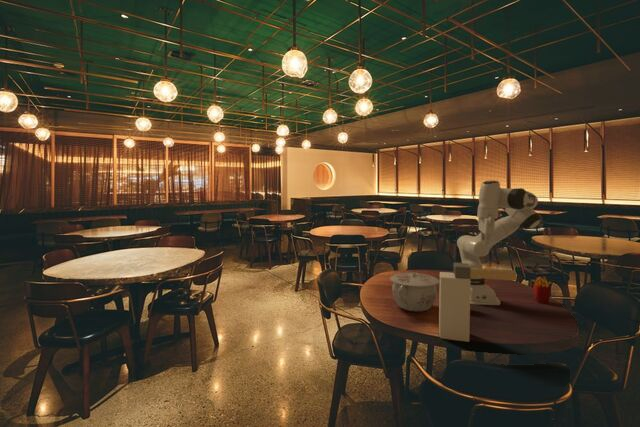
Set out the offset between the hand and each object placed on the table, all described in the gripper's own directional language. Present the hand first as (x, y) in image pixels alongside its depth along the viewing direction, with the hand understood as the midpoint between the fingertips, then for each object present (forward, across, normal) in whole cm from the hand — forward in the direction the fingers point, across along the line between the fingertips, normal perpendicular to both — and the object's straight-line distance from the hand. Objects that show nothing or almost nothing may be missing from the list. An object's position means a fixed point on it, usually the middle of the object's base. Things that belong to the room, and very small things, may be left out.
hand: (484, 242), depth 150 cm
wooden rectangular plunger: (+13, -17, +1) cm, 22 cm away
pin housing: (+42, -17, +12) cm, 47 cm away
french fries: (+40, +46, -40) cm, 73 cm away
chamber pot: (+44, +13, +31) cm, 55 cm away
